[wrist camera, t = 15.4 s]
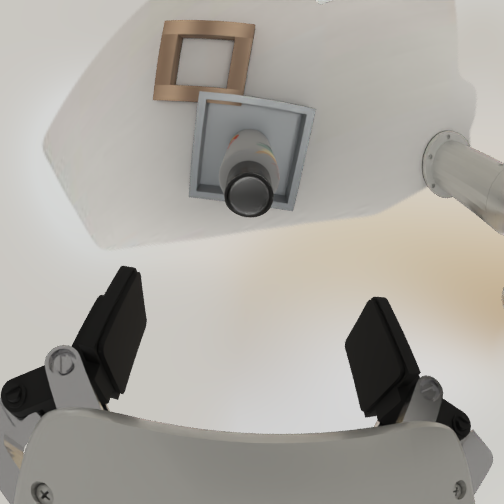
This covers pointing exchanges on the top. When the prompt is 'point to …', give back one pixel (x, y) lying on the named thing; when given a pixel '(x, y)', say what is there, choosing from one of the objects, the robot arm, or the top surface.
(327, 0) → the fork
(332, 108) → the top surface
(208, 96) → the tray
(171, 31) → the socket stand
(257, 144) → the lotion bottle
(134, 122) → the top surface
